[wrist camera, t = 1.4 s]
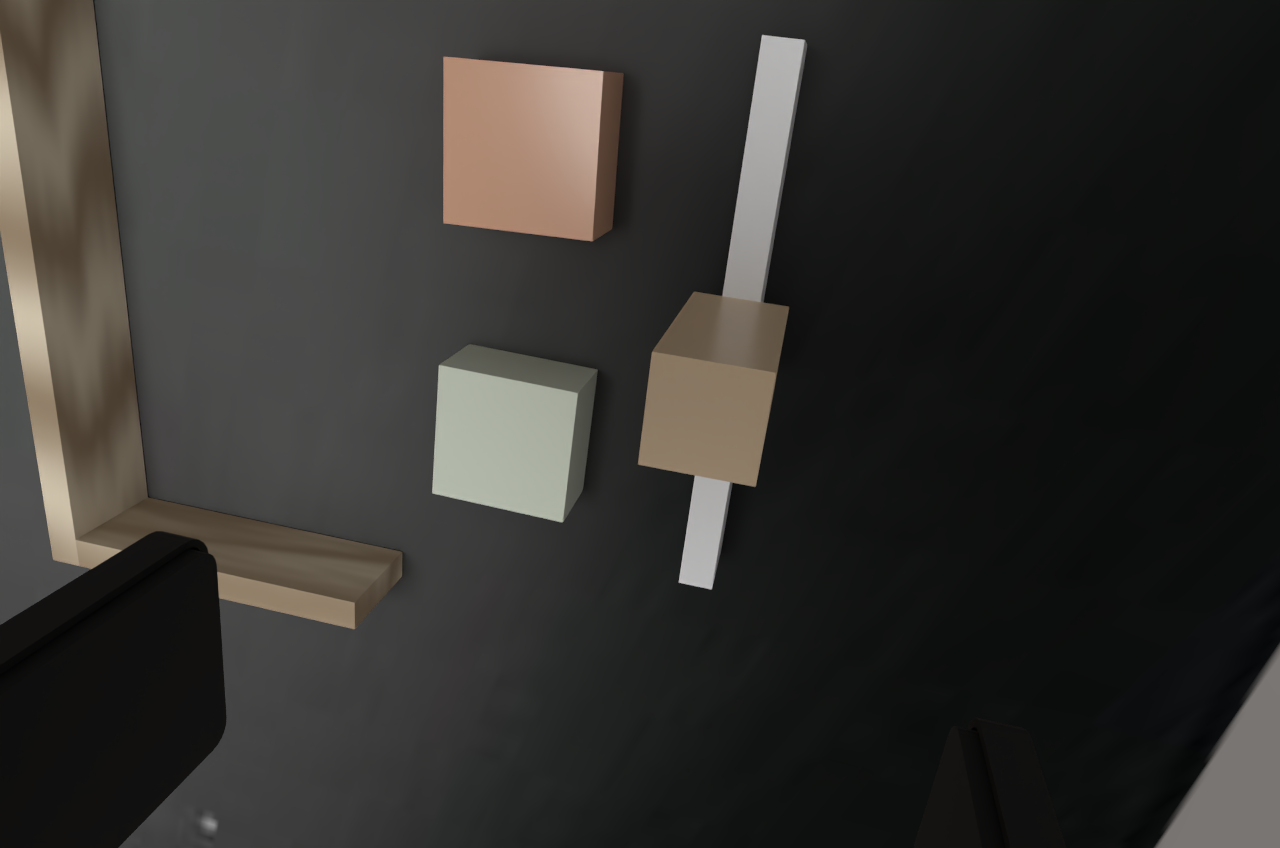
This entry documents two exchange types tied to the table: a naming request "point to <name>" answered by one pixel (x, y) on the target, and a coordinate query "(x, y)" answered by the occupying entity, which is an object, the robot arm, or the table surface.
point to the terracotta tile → (530, 147)
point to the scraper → (728, 334)
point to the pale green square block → (512, 431)
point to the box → (116, 342)
